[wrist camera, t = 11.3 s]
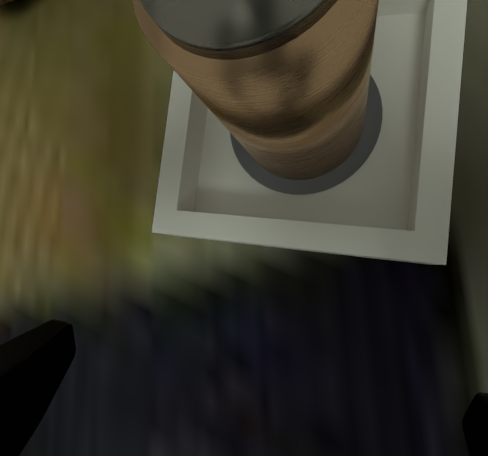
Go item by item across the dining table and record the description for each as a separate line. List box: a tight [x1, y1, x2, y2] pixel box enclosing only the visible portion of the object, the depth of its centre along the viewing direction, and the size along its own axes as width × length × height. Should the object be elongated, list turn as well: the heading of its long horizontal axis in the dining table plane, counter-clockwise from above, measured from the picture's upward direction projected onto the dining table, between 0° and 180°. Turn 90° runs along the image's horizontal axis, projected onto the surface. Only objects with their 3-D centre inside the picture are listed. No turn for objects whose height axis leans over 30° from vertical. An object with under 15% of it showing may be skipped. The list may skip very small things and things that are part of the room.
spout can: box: [132, 0, 379, 180], centre depth 12 cm, size 8×6×11 cm
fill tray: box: [152, 0, 467, 265], centre depth 17 cm, size 13×13×3 cm
